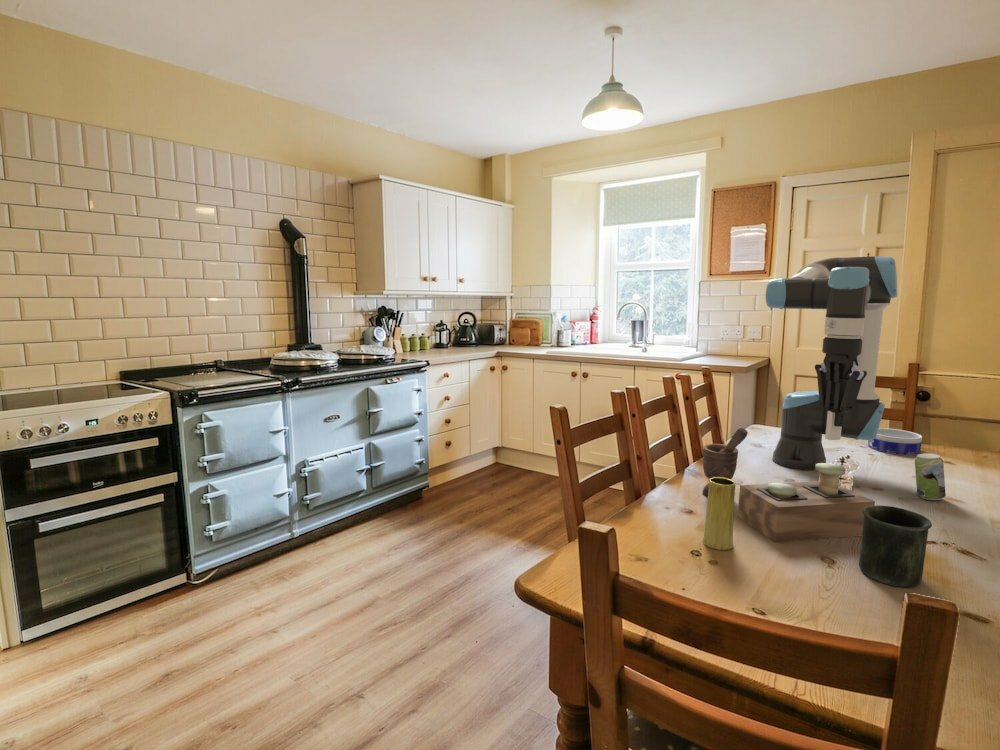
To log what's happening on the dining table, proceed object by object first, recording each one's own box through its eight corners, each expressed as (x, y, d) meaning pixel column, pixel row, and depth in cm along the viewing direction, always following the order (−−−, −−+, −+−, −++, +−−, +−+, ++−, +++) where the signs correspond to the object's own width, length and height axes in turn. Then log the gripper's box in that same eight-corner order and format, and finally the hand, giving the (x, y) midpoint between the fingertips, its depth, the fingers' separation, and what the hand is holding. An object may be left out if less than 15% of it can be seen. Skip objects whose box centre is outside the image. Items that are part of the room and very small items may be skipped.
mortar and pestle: (751, 498, 146) (756, 424, 144) (738, 506, 140) (744, 430, 137) (708, 487, 154) (713, 417, 151) (695, 495, 148) (699, 422, 145)
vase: (730, 553, 115) (735, 487, 113) (699, 546, 118) (704, 482, 116) (735, 542, 120) (739, 479, 118) (706, 535, 123) (710, 474, 121)
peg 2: (806, 495, 132) (809, 463, 130) (828, 494, 133) (832, 462, 131) (825, 505, 126) (828, 471, 125) (848, 503, 127) (851, 470, 126)
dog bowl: (857, 444, 201) (858, 428, 200) (895, 443, 203) (897, 427, 202) (890, 456, 186) (892, 439, 185) (931, 455, 188) (934, 438, 187)
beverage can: (950, 503, 143) (955, 459, 142) (918, 501, 145) (923, 457, 143) (936, 495, 150) (941, 452, 148) (905, 492, 151) (911, 450, 149)
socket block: (737, 516, 134) (740, 484, 133) (825, 511, 138) (828, 479, 137) (775, 542, 120) (778, 505, 119) (871, 535, 124) (875, 500, 123)
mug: (854, 578, 105) (860, 518, 103) (858, 550, 117) (864, 496, 115) (925, 596, 99) (933, 533, 97) (922, 564, 111) (929, 508, 109)
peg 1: (759, 515, 130) (762, 483, 129) (782, 514, 131) (785, 482, 130) (776, 526, 124) (779, 492, 123) (799, 524, 125) (803, 491, 124)
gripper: (807, 334, 129) (798, 432, 133) (850, 339, 117) (839, 447, 120) (835, 334, 130) (826, 431, 134) (881, 339, 118) (870, 446, 121)
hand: (832, 439), depth 127 cm, fingers closed
